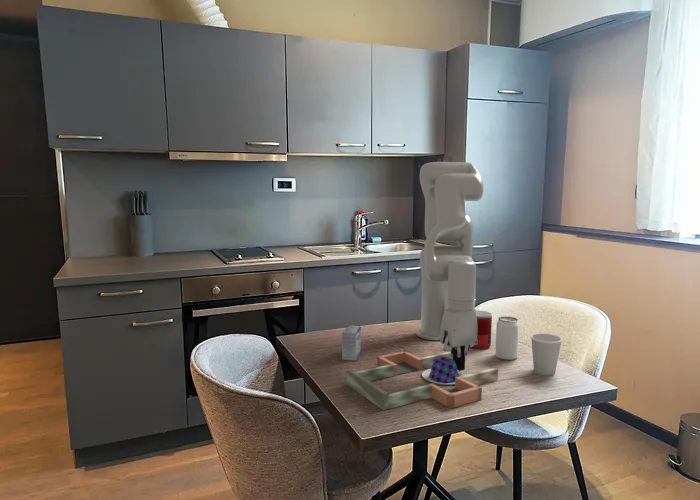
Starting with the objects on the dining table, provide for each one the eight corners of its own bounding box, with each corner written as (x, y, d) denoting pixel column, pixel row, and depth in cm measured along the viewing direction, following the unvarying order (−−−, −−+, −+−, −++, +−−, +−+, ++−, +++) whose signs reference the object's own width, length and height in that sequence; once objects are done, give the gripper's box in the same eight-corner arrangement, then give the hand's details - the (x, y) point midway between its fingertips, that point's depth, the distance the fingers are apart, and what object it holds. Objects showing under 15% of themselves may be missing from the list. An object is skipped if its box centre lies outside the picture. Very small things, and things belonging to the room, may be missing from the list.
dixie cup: (522, 368, 144) (524, 334, 143) (545, 364, 147) (547, 331, 146) (542, 378, 136) (544, 343, 135) (567, 375, 139) (569, 340, 138)
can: (490, 354, 156) (492, 317, 154) (507, 352, 158) (509, 315, 156) (504, 361, 150) (506, 322, 148) (521, 358, 152) (523, 320, 150)
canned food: (494, 349, 160) (495, 316, 159) (469, 350, 160) (470, 316, 159) (486, 342, 168) (487, 310, 167) (462, 342, 168) (463, 310, 166)
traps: (405, 360, 150) (405, 350, 150) (481, 399, 123) (481, 387, 123) (377, 366, 145) (377, 356, 145) (450, 408, 118) (450, 396, 118)
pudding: (475, 382, 135) (476, 363, 134) (439, 390, 129) (439, 370, 129) (447, 367, 145) (448, 350, 145) (413, 374, 140) (413, 356, 139)
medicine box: (356, 361, 150) (356, 333, 148) (341, 360, 150) (341, 332, 149) (361, 352, 157) (361, 325, 156) (347, 351, 158) (347, 325, 157)
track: (454, 360, 151) (454, 347, 150) (497, 379, 136) (498, 365, 135) (346, 384, 132) (346, 370, 132) (383, 410, 117) (384, 393, 117)
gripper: (470, 298, 144) (468, 360, 147) (430, 305, 137) (429, 369, 139) (490, 304, 138) (487, 368, 140) (449, 311, 130) (447, 378, 133)
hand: (458, 368), depth 140 cm, fingers closed
